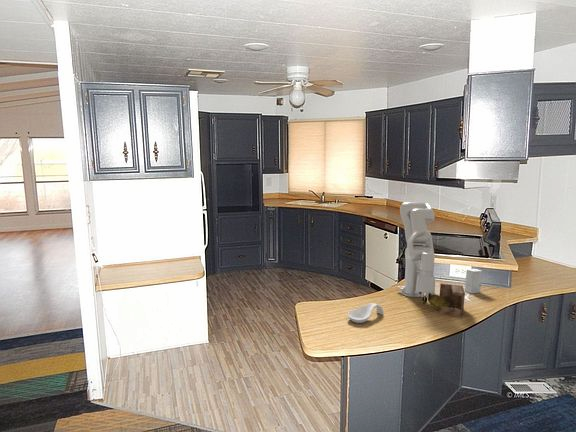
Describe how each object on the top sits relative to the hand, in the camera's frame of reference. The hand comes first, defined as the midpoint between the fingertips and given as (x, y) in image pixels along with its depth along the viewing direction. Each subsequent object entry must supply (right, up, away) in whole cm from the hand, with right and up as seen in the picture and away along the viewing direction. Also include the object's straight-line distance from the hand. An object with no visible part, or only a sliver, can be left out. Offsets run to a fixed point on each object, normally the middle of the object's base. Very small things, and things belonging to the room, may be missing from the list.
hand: (424, 303), depth 246 cm
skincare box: (+41, +1, +30) cm, 51 cm away
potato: (+8, -3, -2) cm, 9 cm away
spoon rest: (-37, -5, -17) cm, 41 cm away
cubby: (+14, -4, -4) cm, 15 cm away
